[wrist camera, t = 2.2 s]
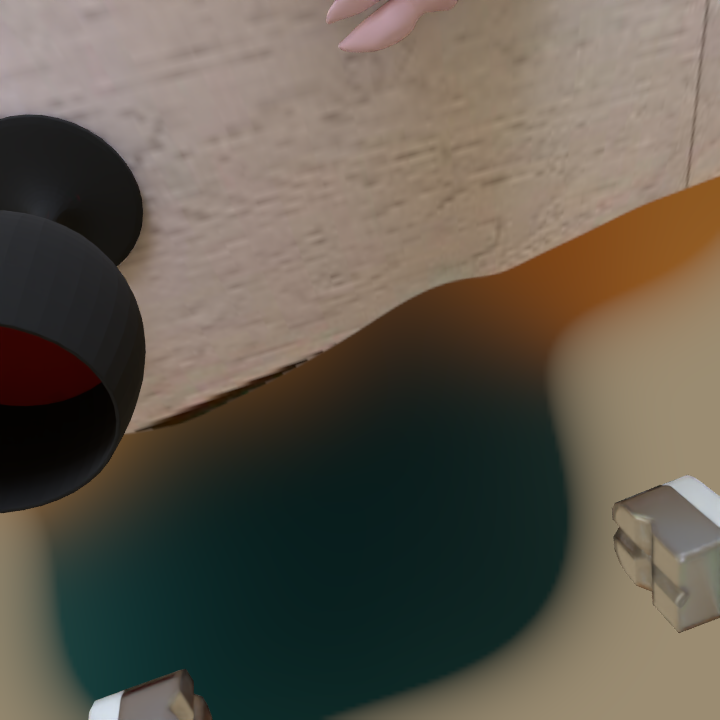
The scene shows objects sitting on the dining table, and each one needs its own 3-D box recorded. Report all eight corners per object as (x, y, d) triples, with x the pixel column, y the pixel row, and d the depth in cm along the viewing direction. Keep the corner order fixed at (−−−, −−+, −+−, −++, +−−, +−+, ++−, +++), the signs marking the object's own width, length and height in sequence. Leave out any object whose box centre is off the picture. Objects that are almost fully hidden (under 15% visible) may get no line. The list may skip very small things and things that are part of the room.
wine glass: (-99, 154, 32) (-313, 379, 17) (84, 84, 33) (36, 241, 18) (22, 305, 39) (-54, 565, 24) (173, 245, 40) (194, 461, 24)
